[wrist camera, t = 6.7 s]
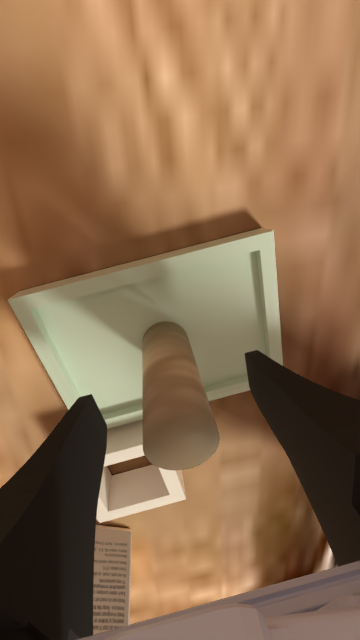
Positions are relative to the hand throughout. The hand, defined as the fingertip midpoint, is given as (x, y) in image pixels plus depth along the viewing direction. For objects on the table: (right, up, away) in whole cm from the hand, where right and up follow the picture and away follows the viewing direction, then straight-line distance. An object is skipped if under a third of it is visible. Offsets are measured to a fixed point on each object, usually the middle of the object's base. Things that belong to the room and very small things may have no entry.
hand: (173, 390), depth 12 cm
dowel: (-1, +2, +4) cm, 4 cm away
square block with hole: (-4, -7, +9) cm, 12 cm away
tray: (-1, +2, +5) cm, 5 cm away
